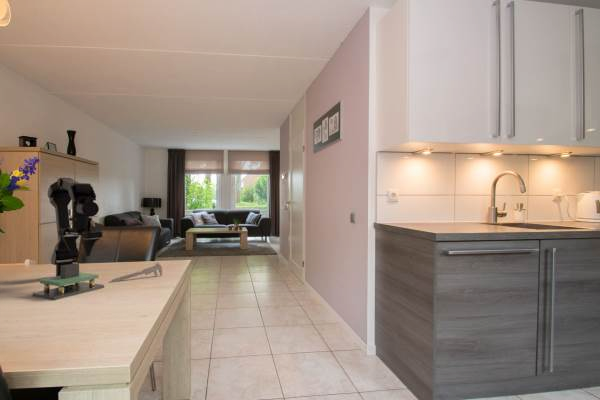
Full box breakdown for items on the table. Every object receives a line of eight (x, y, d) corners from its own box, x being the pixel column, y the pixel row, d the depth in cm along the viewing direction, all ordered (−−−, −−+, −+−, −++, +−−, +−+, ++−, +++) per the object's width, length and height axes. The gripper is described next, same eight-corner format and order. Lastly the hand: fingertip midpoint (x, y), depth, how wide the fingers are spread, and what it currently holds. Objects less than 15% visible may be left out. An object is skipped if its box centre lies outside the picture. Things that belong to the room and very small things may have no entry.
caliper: (161, 276, 154) (161, 261, 154) (162, 276, 153) (162, 262, 153) (109, 282, 142) (109, 267, 142) (109, 283, 141) (109, 267, 141)
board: (39, 283, 123) (39, 266, 123) (78, 275, 135) (78, 260, 135) (59, 286, 118) (59, 269, 118) (98, 277, 131) (98, 262, 131)
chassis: (32, 296, 121) (32, 284, 121) (82, 284, 137) (82, 274, 137) (54, 300, 116) (54, 287, 116) (104, 287, 133) (104, 277, 133)
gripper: (115, 215, 141) (115, 254, 141) (85, 213, 149) (84, 250, 149) (88, 216, 131) (88, 258, 131) (57, 214, 139) (57, 253, 139)
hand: (80, 255), depth 138 cm, fingers open, 9 cm apart
